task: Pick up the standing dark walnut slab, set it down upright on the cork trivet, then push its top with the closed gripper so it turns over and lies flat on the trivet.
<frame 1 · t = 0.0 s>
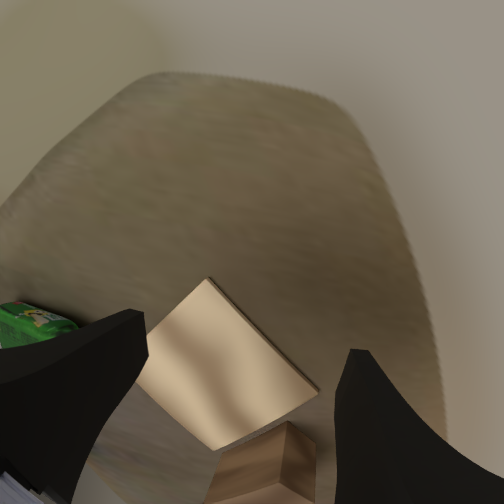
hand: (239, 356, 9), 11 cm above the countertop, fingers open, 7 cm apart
slab: (267, 449, 22), on the countertop
snack package: (57, 334, 25), on the countertop
trivet: (210, 379, 22), on the countertop
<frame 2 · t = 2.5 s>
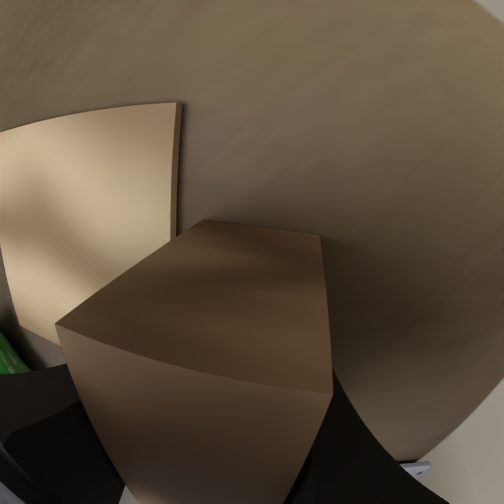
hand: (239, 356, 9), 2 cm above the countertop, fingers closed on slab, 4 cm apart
slab: (250, 327, 11), on the countertop, touching gripper
snack package: (11, 361, 18), on the countertop
trivet: (65, 248, 12), on the countertop
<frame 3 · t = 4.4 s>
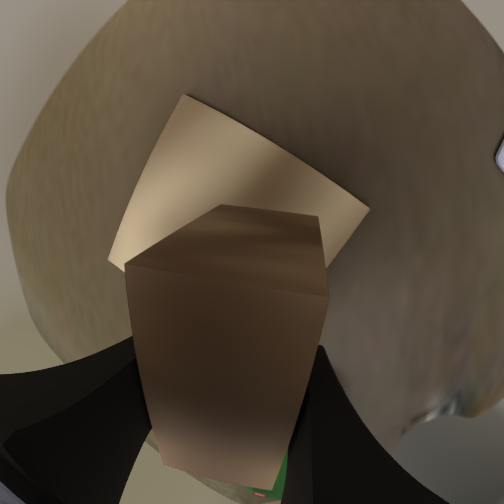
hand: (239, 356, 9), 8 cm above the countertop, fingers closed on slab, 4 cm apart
slab: (259, 298, 13), point 4 cm above the countertop, touching gripper
snack package: (289, 428, 22), on the countertop
trivet: (221, 234, 17), on the countertop
when the fingers open (3 cm above the countertop, at t = 6.1 s): slab stays where it is, resting on trivet.
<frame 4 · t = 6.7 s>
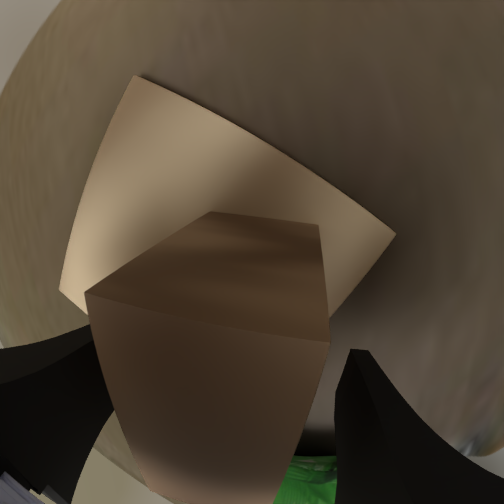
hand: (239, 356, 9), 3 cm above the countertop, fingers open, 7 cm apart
slab: (253, 313, 12), resting on trivet
snack package: (292, 476, 17), on the countertop
trivet: (187, 265, 12), on the countertop
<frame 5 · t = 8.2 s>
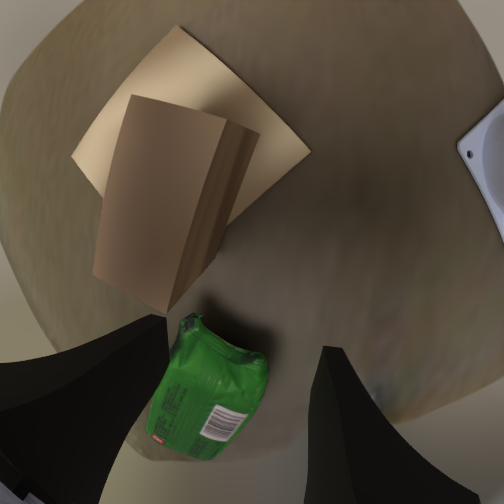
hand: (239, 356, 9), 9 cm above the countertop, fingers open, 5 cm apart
slab: (205, 186, 17), resting on trivet
snack package: (210, 380, 23), on the countertop
trivet: (171, 148, 17), on the countertop
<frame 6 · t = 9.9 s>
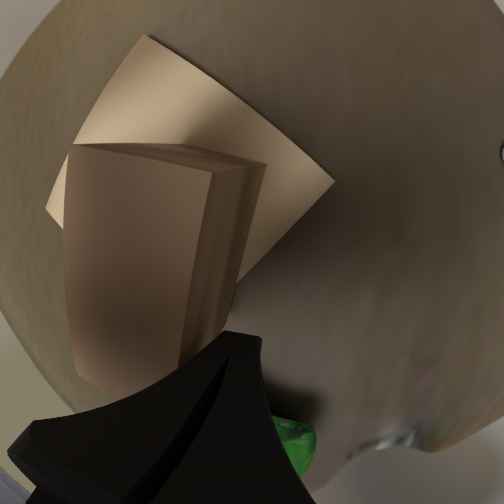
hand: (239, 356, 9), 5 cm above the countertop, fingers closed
slab: (203, 237, 14), point 1 cm above the countertop, touching gripper, trivet
snack package: (243, 437, 19), on the countertop
trivet: (156, 191, 14), on the countertop
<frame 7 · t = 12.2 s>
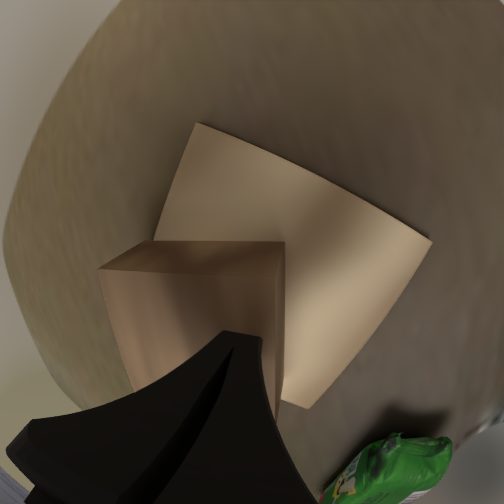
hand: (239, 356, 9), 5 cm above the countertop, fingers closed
slab: (280, 343, 12), point 2 cm above the countertop, tilted 90°, touching trivet
snack package: (374, 462, 18), on the countertop
trivet: (263, 288, 14), on the countertop
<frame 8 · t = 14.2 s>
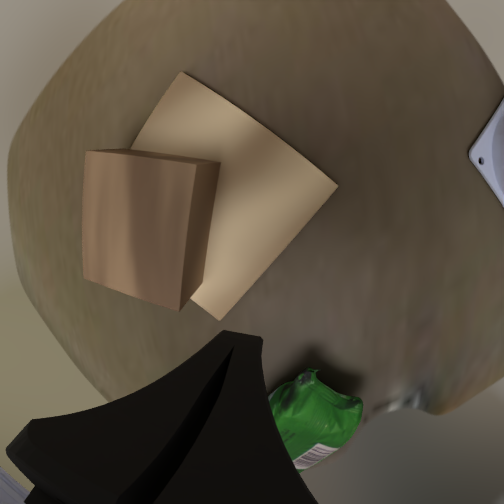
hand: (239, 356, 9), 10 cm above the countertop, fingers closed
slab: (199, 234, 16), point 2 cm above the countertop, tilted 90°, touching trivet
snack package: (287, 413, 24), on the countertop
trivet: (200, 198, 18), on the countertop
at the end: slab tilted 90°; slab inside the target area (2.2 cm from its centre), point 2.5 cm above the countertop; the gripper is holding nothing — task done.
